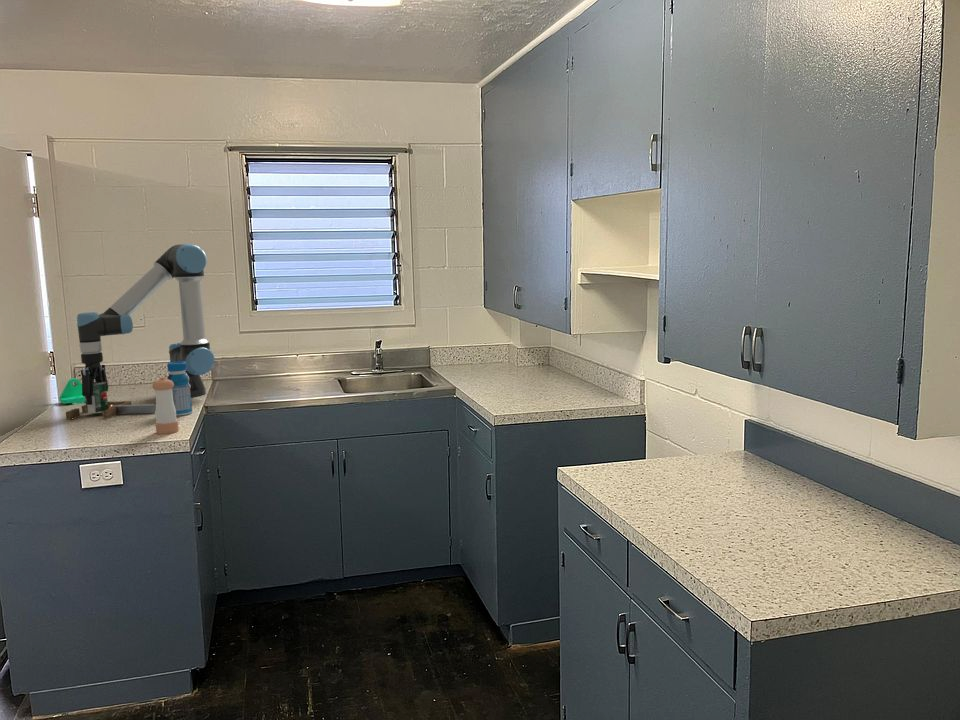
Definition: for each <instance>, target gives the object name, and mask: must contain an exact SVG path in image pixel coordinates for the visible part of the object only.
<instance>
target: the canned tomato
mask: <svg viewBox="0 0 960 720" xmlns="http://www.w3.org/2000/svg"><path fill="white" fill-rule="evenodd" d="M93 396H94V399H95V408H96V412H95V413H97V414H98V413H103V411H105V410H107V407H108V402H109V401H108V391H107V390H106V382H100V383H96V381H94V385H93ZM85 405H86V410H87V411H86V412H87V413H86V414H89V413H88V407H87V398H86V396H85ZM95 413H94V414H95Z"/></svg>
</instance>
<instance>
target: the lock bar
mask: <svg viewBox="0 0 960 720" xmlns="http://www.w3.org/2000/svg"><path fill="white" fill-rule="evenodd" d="M110 408H116V415H127V414H129V415H130V414H131V415H132V414H133V415H134V414H136V415H137V414H154V413H155V412H156V403H155V404H154V403H151V404H148V403H147V404H132V405H108V407H107V409H110Z"/></svg>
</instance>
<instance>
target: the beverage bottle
mask: <svg viewBox="0 0 960 720" xmlns="http://www.w3.org/2000/svg"><path fill="white" fill-rule="evenodd" d="M166 367H167V372H168V376H167V377H166V379H169V380H172V382H173V383H174V387H173V388H172V394H173V402H174V406H175V409H176V417H177V416H178V417H180V416H187V415H190V414H192V413H193V407H192V397H191V393H190V388H191V386H190V383H189V380H190V379H189V376H188V375H187V373H186V372H185V371H186V369H187V368H186V362H182V361H180V362H170V361H169V362H168V363H167V365H166Z"/></svg>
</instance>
